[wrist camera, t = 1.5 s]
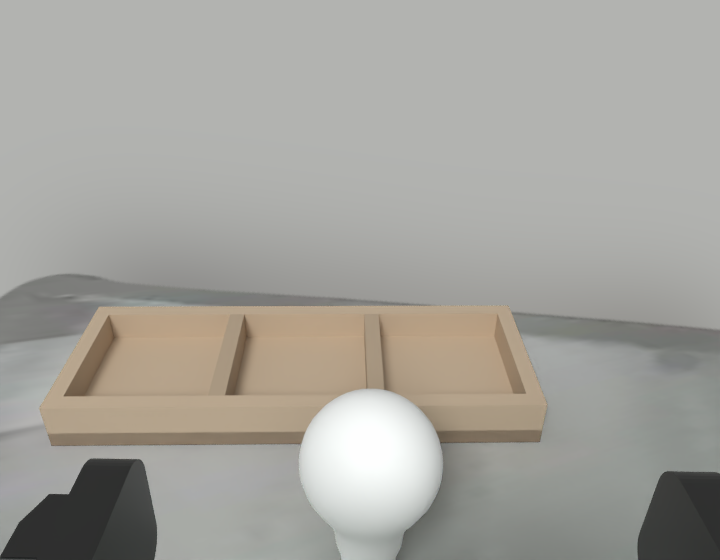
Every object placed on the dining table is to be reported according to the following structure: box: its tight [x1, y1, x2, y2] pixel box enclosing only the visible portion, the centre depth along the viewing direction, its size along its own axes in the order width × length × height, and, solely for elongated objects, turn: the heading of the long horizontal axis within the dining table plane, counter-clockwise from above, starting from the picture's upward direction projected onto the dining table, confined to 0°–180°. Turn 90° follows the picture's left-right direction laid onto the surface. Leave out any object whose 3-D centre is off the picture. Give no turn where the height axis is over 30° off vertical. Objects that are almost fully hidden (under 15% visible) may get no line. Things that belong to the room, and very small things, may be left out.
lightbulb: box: [299, 389, 443, 560], centre depth 28 cm, size 6×6×11 cm
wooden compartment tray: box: [39, 306, 547, 446], centre depth 42 cm, size 30×10×3 cm, turn 91°
